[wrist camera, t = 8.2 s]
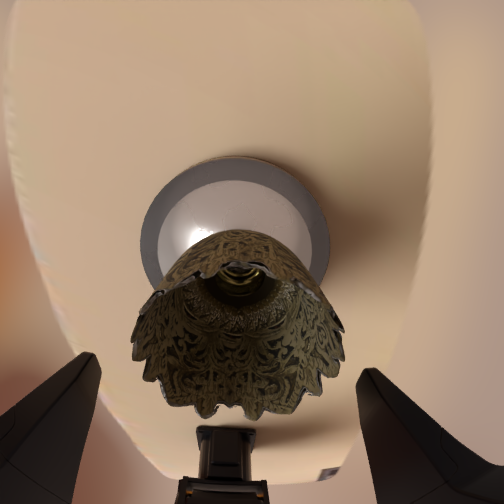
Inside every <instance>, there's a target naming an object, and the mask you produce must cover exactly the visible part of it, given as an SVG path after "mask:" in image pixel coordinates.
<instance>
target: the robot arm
mask: <svg viewBox="0 0 504 504" xmlns="http://www.w3.org/2000/svg"><path fill="white" fill-rule="evenodd" d="M101 374H102V371H101V367H100V365H99V362H98V360H97V357H96V355H95V354H94V353H90V352H82V353H81V354H80V355H78V356H77V357H76V358H74V359H73V360H72V361H70V362H69V363H68V364H66V365H65V366H64V367H63V368H61V369H60V370H59V371H57V372H56V373H55V374H53V375H52V376H51V377H50V378H48V379H47V380H46V381H44V382H43V383H42V384H41V385H39V386H38V387H37V388H36V389H34V390H33V391H32V392H30V393H29V394H28V395H27V396H25V397H24V398H23V399H22V400H20V401H19V402H18V403H16V405H14V406H13V407H11V408H10V409H9V410H8V411H6V412H5V413H4V414H2V415H1V416H0V504H71V503H72V498H73V493H74V488H75V483H76V478H77V474H78V470H79V465H80V461H81V457H82V453H83V449H84V445H85V442H86V438H87V434H88V431H89V427H90V424H91V421H92V417H93V413H94V409H95V404H96V399H97V394H98V389H99V384H100V379H101ZM356 394H357V402H358V409H359V418H360V425H361V430H362V434H363V438H364V442H365V446H366V451H367V456H368V460H369V465H370V469H371V474H372V479H373V484H374V489H375V494H376V500H377V504H504V466H499V465H495V464H492V463H489V462H488V461H486V460H484V459H483V458H482V457H480V456H479V455H477V454H476V453H474V452H473V451H471V450H470V449H469V448H467V447H466V446H465V445H463V444H462V443H461V442H459V441H458V440H457V439H455V438H454V437H453V436H452V435H451V434H449V433H448V432H447V431H446V430H445V429H444V428H442V427H441V426H440V425H439V424H438V423H437V422H436V421H435V420H433V418H431V417H430V416H429V415H428V414H427V413H426V412H425V411H424V410H422V409H421V408H420V407H419V406H418V405H417V404H416V403H415V402H413V401H412V400H411V399H410V398H409V397H408V396H407V395H406V394H405V393H404V392H402V391H401V390H400V389H399V388H398V387H397V386H396V385H394V384H393V383H392V382H391V381H390V380H389V379H388V378H387V377H386V376H385V375H383V374H382V373H381V372H380V371H379V370H378V369H377V368H374V367H373V368H365V369H364V370H363V371H362V373H361V375H360V377H359V379H358V381H357V383H356ZM196 434H197V440H198V446H199V450H200V461H199V474H198V478H191V477H188V476H183V479H181V480H179V485H178V493H177V497H176V500H175V504H270V502H269V495H268V488H267V481H266V480H261V481H252V478H251V453H252V450H253V446H254V441H255V437H256V431H255V430H251V429H223V428H208V427H197V428H196Z"/></svg>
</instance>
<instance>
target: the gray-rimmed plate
mask: <svg viewBox="0 0 504 504" xmlns="http://www.w3.org/2000/svg"><path fill="white" fill-rule="evenodd" d="M234 229H243V230H252V231H257V232H260V233H264V234H266V235H268V236H271V237H273V238H275V239H276V240H278V241H280V242H281V243H282V244H284V245H285V246H286V247H288V248H289V249H290V250H291V251H292V252H293V253H294V254H295V255H296V256H297V257H298V258H299V259H300V261H301V262H302V263H303V264H304V266H305V267H306V268H307V270H308V271H309V272H310V274H311V275H312V277H313V278H314V280H315V281H316V283H317V284H318V286H319V285H320V284H321V281H322V279H323V277H324V275H325V272H326V269H327V265H328V261H329V254H330V238H329V231H328V227H327V223H326V220H325V217H324V215H323V213H322V211H321V209H320V207H319V205H318V204H317V202H316V200H315V199H314V197H313V196H312V195H311V194H310V193H309V191H308V190H307V189H306V188H305V187H304V186H303V185H302V184H301V183H300V181H298V180H297V179H296V178H295V177H294V176H292V175H291V174H290V173H288V172H287V171H285V170H283V169H282V168H280V167H278V166H276V165H274V164H271V163H269V162H267V161H263V160H260V159H256V158H251V157H243V156H226V157H219V158H213V159H210V160H206V161H203V162H200V163H198V164H196V165H193V166H191V167H189V168H188V169H186V170H185V171H183V172H181V173H180V174H178V175H177V176H176V177H175V178H174V179H173V180H171V181H170V182H169V183H168V184H167V185H166V186H165V187H164V188H163V189H162V190H161V191H160V192H159V194H158V195H157V196H156V197H155V199H154V200H153V202H152V204H151V205H150V207H149V209H148V211H147V214H146V216H145V218H144V222H143V226H142V230H141V238H140V251H141V258H142V263H143V266H144V270H145V273H146V275H147V277H148V279H149V281H150V283H151V285H152V287H153V288H154V290H155V289H156V288H157V286H158V285H159V283H160V282H161V281H162V279H163V278H164V276H165V275H166V274H167V272H168V271H169V270H170V268H171V267H172V266H173V264H174V263H175V262H176V261H177V260H178V258H179V257H180V256H181V255H182V254H183V253H184V252H185V251H186V250H187V249H188V248H190V247H191V246H192V245H193V244H195V243H196V242H198V241H200V240H201V239H203V238H205V237H207V236H209V235H211V234H214V233H217V232H221V231H225V230H234ZM228 269H229V270H230V271H232V272H234V273H245V272H248V271H249V270H250V269H251V268H247V269H243V268H240V267H230V268H228Z"/></svg>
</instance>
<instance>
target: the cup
mask: <svg viewBox="0 0 504 504" xmlns="http://www.w3.org/2000/svg"><path fill="white" fill-rule="evenodd" d="M230 267H240V268H243V269H247V268H251V269H250V270H249V271H248V272H245V273H234V272H232V271H230V270H229V269H228V268H230ZM339 331H341V332H342V333H345V331H344V328H343V325H342V323H341V321H340V319H339V318H338V316H337V315H336V313H335V311H334V309H333V307H332V306H331V304H330V303H329V302H328V300H327V298H326V297H325V295H324V294H323V292H322V291H321V289H320V287H319V286H318V284H317V283H316V281H315V280H314V278H313V277H312V275H311V274H310V272H309V271H308V270H307V268H306V267H305V266H304V264H303V263H302V262H301V261H300V259H299V258H298V257H297V256H296V255H295V254H294V253H293V252H292V251H291V250H290V249H289V248H288V247H286V246H285V245H284V244H282V243H281V242H280V241H278V240H276V239H275V238H273V237H271V236H268V235H266V234H264V233H260V232H257V231H252V230H243V229H234V230H225V231H221V232H217V233H214V234H211V235H209V236H207V237H205V238H203V239H201V240H200V241H198V242H196V243H195V244H193V245H192V246H191V247H190V248H188V249H187V250H186V251H185V252H184V253H183V254H182V255H181V256H180V257H179V258H178V260H177V261H176V262H175V263H174V264H173V266H172V267H171V268H170V270H169V271H168V272H167V274H166V275H165V276H164V278H163V279H162V281H161V282H160V283H159V285H158V286H157V288H156V289H155V291H154V292H153V293H152V295H151V296H150V298H149V299H148V300H147V302H146V303H145V304H144V305H143V307H142V308H141V309H140V311H139V317H138V319H137V322H136V326H135V328H134V330H133V333H132V336H131V343H133V342H134V341H135V342H134V344H133V351H132V360H133V361H139V362H140V361H143V360H145V359H146V364H145V368H144V372H143V380H144V381H146V382H155V381H156V380H157V379H158V381H159V382H160V387H161V392H162V394H163V396H164V398H165V400H166V402H167V403H168V404H169V405H170V406H173V407H183V406H189V405H194V408H195V411H196V413H197V414H198V415H199V416H200V417H201V418H203V419H208V418H210V417H212V416H213V415H214V414H216V412H217V409H218V408H219V406H220V405H219V406H216V405H217V404H224V405H226V406H227V407H228V408H232V406H234V405H238V406H242V408H243V410H244V414H245V415H243V416H244V417H245V418H247V419H249V420H252V421H257V420H258V419H259V418H260V417H261V415H262V414H263V412H264V410H265V409H266V411H269V412H271V413H273V414H292V413H293V412H294V411H295V409H296V408H297V406H298V405H299V403H300V401H301V400H302V397H303V395H304V394H305V392H306V393H307V392H309V393H312V395H311V394H308V395H311V396H321V394H322V392H323V391H322V382H321V374H323V375H324V376H325V377H327V378H330V377H331V378H334V377H337V376H338V374H339V369H340V362H339V360H341V361H343V362H344V361H345V355H344V350H343V345H342V336H341V334H340V332H339ZM156 378H157V379H156ZM307 390H308V391H307ZM215 406H216V408H215ZM234 407H236V406H234ZM214 408H215V410H214ZM213 412H214V413H213Z"/></svg>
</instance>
